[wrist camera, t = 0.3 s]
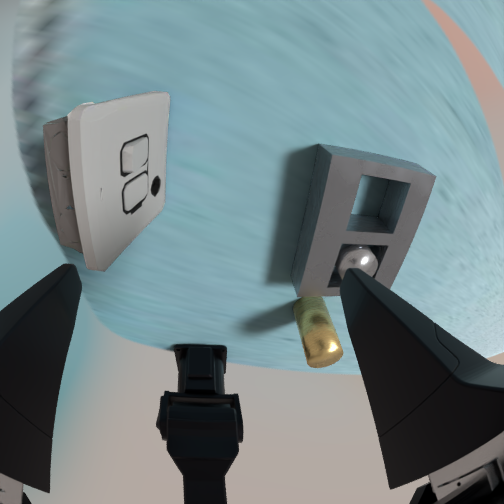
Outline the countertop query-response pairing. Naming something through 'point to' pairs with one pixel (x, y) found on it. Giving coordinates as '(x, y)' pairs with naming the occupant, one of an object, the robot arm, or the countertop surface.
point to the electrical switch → (107, 173)
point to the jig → (357, 217)
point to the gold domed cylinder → (317, 332)
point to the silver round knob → (356, 259)
